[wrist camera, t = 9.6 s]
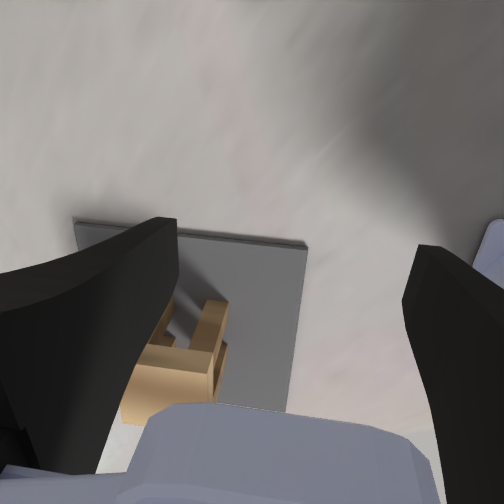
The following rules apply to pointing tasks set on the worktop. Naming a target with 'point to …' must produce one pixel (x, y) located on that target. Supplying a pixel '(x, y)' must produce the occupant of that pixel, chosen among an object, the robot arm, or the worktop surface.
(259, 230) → the worktop surface
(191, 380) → the tan notched block
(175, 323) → the mat
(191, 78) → the worktop surface
